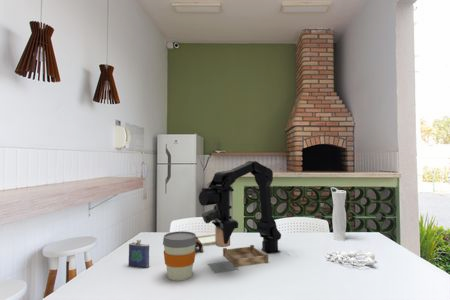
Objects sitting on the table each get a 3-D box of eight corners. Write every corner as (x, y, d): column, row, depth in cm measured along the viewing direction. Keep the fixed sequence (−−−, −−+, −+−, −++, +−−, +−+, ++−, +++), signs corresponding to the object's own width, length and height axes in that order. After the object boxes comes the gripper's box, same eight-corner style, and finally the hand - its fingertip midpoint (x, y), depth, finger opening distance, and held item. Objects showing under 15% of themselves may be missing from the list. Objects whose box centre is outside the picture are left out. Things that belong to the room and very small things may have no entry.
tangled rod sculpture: (322, 266, 122) (322, 256, 122) (328, 253, 135) (327, 244, 134) (374, 273, 113) (374, 263, 113) (375, 259, 125) (374, 249, 125)
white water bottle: (331, 240, 155) (331, 188, 156) (330, 236, 162) (330, 186, 163) (347, 241, 153) (347, 188, 153) (346, 237, 160) (345, 187, 160)
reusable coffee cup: (181, 285, 100) (181, 242, 101) (155, 277, 107) (155, 236, 107) (203, 273, 111) (203, 234, 111) (178, 266, 118) (178, 229, 118)
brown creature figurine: (204, 256, 131) (195, 241, 130) (186, 264, 133) (177, 250, 131) (206, 242, 143) (198, 228, 142) (190, 249, 144) (181, 236, 143)
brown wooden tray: (252, 252, 135) (252, 244, 136) (268, 263, 122) (268, 254, 122) (222, 256, 130) (222, 248, 130) (235, 267, 116) (235, 259, 116)
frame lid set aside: (216, 236, 163) (216, 233, 163) (227, 242, 151) (227, 240, 151) (193, 239, 157) (193, 236, 157) (202, 246, 145) (202, 243, 145)
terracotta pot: (227, 241, 121) (227, 224, 121) (232, 246, 116) (232, 227, 116) (213, 243, 119) (213, 225, 119) (218, 247, 114) (218, 229, 114)
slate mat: (229, 261, 124) (229, 261, 124) (239, 270, 114) (239, 269, 114) (207, 264, 120) (207, 264, 120) (214, 273, 111) (214, 273, 111)
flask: (150, 266, 118) (150, 239, 119) (146, 268, 116) (146, 241, 116) (130, 263, 121) (130, 238, 121) (126, 266, 118) (126, 240, 118)
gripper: (197, 200, 124) (197, 237, 123) (210, 208, 106) (210, 250, 106) (222, 199, 128) (222, 235, 127) (238, 206, 110) (238, 247, 110)
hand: (222, 241), depth 117 cm, fingers closed on terracotta pot, 6 cm apart
